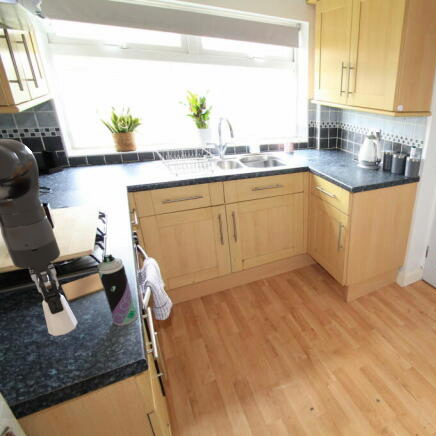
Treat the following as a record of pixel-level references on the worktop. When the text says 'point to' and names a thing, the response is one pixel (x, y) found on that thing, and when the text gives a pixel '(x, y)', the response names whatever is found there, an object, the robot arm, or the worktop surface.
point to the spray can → (117, 290)
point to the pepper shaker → (59, 319)
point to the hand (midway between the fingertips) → (55, 306)
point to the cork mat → (82, 287)
